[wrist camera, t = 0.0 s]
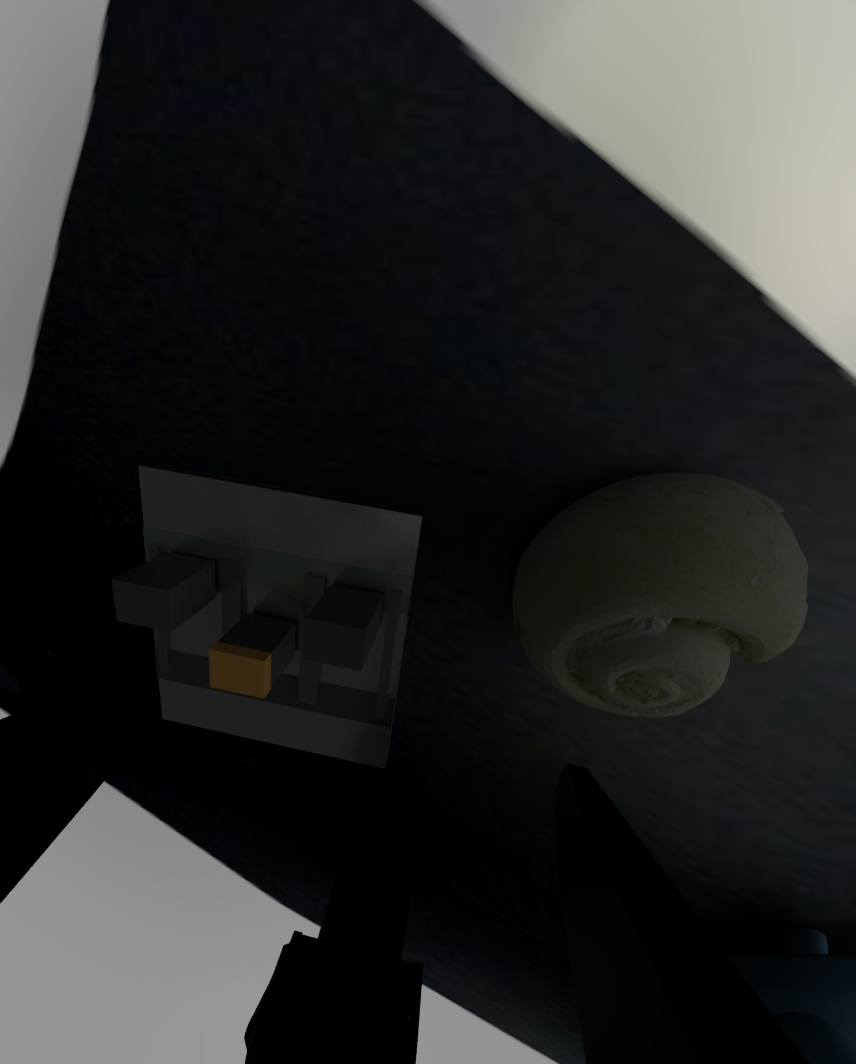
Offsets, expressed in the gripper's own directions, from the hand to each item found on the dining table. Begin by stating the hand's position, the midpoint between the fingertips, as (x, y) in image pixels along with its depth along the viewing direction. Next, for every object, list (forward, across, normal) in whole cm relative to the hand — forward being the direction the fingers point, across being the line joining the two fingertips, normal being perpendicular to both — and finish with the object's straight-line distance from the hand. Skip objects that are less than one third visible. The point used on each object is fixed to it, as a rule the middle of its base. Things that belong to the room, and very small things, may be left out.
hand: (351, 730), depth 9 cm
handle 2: (+13, +3, +5) cm, 15 cm away
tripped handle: (+13, +8, +8) cm, 18 cm away
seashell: (+15, -10, 0) cm, 18 cm away
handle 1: (+13, +13, +5) cm, 20 cm away
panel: (+15, +8, +8) cm, 19 cm away
